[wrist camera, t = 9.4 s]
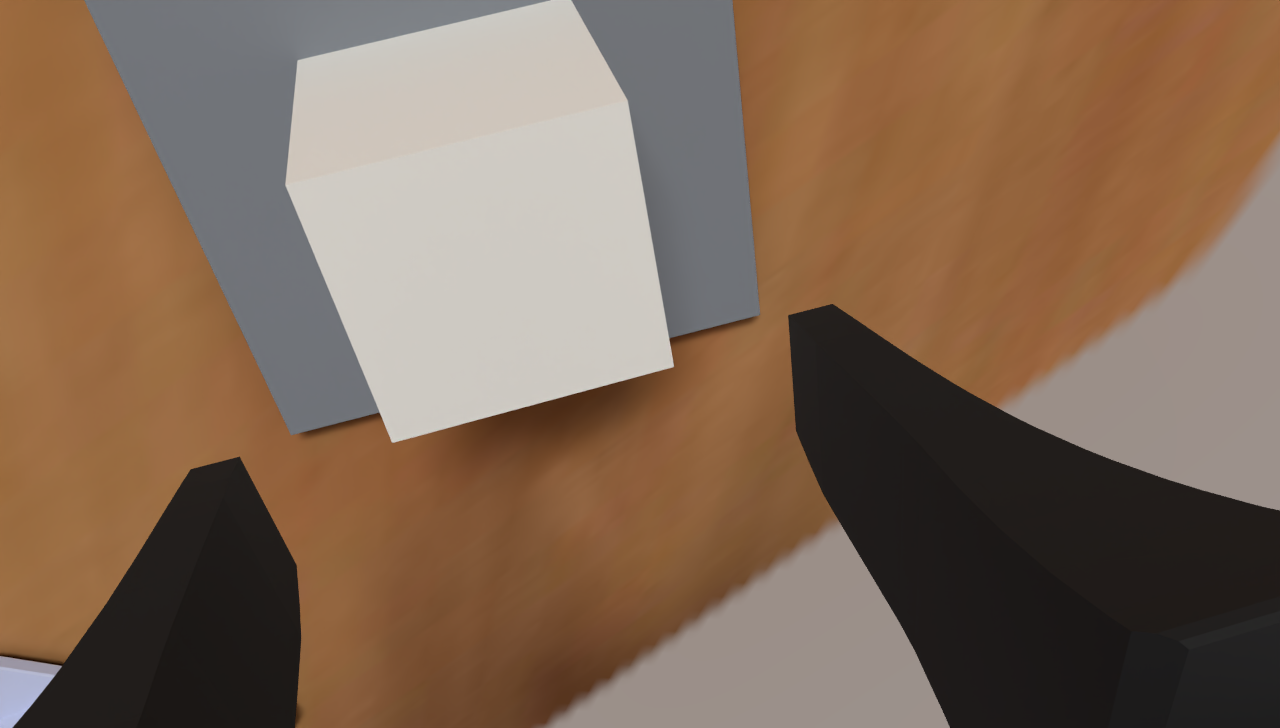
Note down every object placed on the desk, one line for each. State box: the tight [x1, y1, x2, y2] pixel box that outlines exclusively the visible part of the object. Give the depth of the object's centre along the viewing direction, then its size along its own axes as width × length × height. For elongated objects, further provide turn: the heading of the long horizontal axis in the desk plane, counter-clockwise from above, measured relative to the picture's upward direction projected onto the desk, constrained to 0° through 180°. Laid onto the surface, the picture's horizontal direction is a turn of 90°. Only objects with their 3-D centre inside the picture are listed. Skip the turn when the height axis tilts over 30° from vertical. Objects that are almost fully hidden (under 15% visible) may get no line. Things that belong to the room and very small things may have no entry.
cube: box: [285, 0, 674, 443], centre depth 18 cm, size 5×5×5 cm
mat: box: [84, 0, 760, 435], centre depth 21 cm, size 11×11×1 cm
